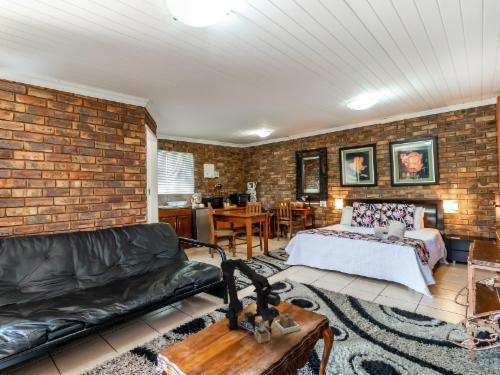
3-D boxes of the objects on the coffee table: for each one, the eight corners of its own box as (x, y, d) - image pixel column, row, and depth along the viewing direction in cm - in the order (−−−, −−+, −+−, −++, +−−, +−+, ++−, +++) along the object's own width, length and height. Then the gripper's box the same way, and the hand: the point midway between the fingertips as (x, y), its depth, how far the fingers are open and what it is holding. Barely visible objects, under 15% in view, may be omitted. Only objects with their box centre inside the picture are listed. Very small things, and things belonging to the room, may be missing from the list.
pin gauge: (258, 337, 148) (258, 319, 148) (263, 336, 149) (263, 318, 149) (261, 340, 146) (260, 322, 145) (265, 339, 147) (265, 320, 147)
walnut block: (279, 325, 160) (279, 315, 160) (288, 322, 162) (288, 313, 162) (285, 330, 154) (284, 319, 154) (293, 327, 157) (293, 317, 157)
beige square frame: (254, 336, 149) (254, 329, 149) (264, 334, 152) (264, 327, 152) (259, 343, 143) (259, 335, 143) (270, 340, 146) (270, 332, 146)
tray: (274, 325, 161) (274, 321, 161) (289, 321, 165) (289, 317, 165) (283, 334, 151) (283, 329, 151) (299, 329, 156) (299, 325, 156)
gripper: (252, 311, 136) (252, 341, 136) (284, 304, 143) (284, 333, 144) (243, 302, 146) (244, 330, 146) (274, 296, 154) (274, 323, 154)
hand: (262, 329), depth 147 cm, fingers open, 9 cm apart
